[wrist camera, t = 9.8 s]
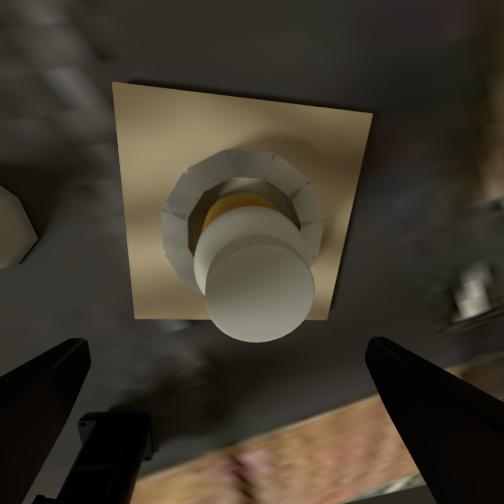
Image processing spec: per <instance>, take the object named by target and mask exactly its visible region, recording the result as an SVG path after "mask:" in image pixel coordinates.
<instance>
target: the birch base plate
mask: <svg viewBox="0 0 504 504" xmlns="http://www.w3.org/2000/svg"><path fill="white" fill-rule="evenodd" d="M112 88H113V98H114V108H115V119H116V129H117V139H118V150H119V160H120V170H121V181H122V191H123V201H124V212H125V222H126V232H127V243H128V253H129V263H130V274H131V284H132V294H133V305H134V315H135V319H211V318H210V316H209V314H208V311H207V308H206V304H205V296H203V295H201V294H199V293H197V292H195V291H193V290H191V289H189V288H188V285H189V283H188V284H186V285H184V283H183V282H182V280H181V279H180V277H179V276H178V274H177V273H176V271H175V270H174V268H173V267H172V265H171V264H170V262H169V261H168V259H167V258H166V256H165V253H166V252H167V251H163V239H162V216H161V212H162V211H164V210H165V209H163V206H164V204H165V202H166V201H167V199H168V197H169V196H170V194H171V192H172V190H173V189H174V187H175V185H176V183H177V182H178V180H179V178H180V177H181V175H182V173H183V172H185V171H188V170H187V168H189V167H191V166H193V165H195V164H197V163H199V162H201V161H203V160H205V159H207V158H208V157H210V156H212V155H214V154H216V153H218V152H220V151H222V150H224V149H225V150H226V152H227V154H228V156H229V149H230V148H235V149H245V150H256V151H266V152H273V154H278V155H279V156H280V157H282V158H283V159H284V160H286V161H287V162H288V163H289V164H291V165H292V166H293V167H294V168H296V169H297V170H298V171H300V172H301V173H302V174H303V175H305V176H306V177H307V178H309V179H308V182H312V185H313V188H314V191H315V194H316V196H317V199H318V202H319V205H320V207H321V210H322V213H323V216H324V218H323V219H321V220H322V221H324V228H323V233H322V238H321V244H320V249H319V254H318V257H313V258H314V259H315V260H316V262H315V263H314V264H313V265H312V267H311V268H310V270H311V272H312V275H313V278H314V283H315V297H314V302H313V305H312V308H311V310H310V312H309V314H308V315H307V317H306V318H305V319H304V320H327V318H328V313H329V309H330V304H331V300H332V295H333V291H334V286H335V282H336V277H337V273H338V268H339V264H340V259H341V255H342V250H343V246H344V241H345V237H346V232H347V228H348V223H349V219H350V214H351V210H352V205H353V201H354V197H355V192H356V188H357V183H358V179H359V174H360V170H361V165H362V161H363V156H364V152H365V147H366V143H367V138H368V134H369V129H370V125H371V120H372V116H373V114H372V113H364V112H355V111H347V110H339V109H331V108H323V107H314V106H306V105H298V104H290V103H282V102H273V101H265V100H257V99H249V98H241V97H232V96H224V95H216V94H208V93H200V92H191V91H183V90H175V89H167V88H159V87H150V86H142V85H134V84H126V83H118V82H112ZM273 154H272V155H273ZM235 191H251V192H255V193H257V194H259V195H261V196H263V197H265V198H266V199H267V200H268V201H270V202H271V203H272V204H273V205H274V206H275V207H276V208H277V209H278V210H279V211H280V212H281V213H283V214H284V215H285V216H286V217H287V218H288V219H289V220H290V221H291V215H290V212H289V210H288V208H287V205H286V203H285V200H284V198H283V196H282V193H281V192H280V191H278V190H277V189H276V188H274V187H273V186H272V185H270V184H269V183H267V182H266V181H265V180H263V179H254V178H242V177H232V178H230V179H228V180H226V181H224V182H222V183H220V184H218V185H216V186H214V187H212V188H210V189H208V190H206V191H204V193H203V195H202V196H201V198H200V199H199V201H198V203H197V204H196V206H195V208H194V209H193V237H194V239H195V241H196V242H197V244H198V241H199V238H200V235H201V231H202V228H203V225H204V221H205V218H206V216H207V213H208V211H209V209H210V208H211V206H212V205H213V204H214V203H215V202H216V201H217V200H218V199H219V198H221V197H222V196H224V195H226V194H228V193H231V192H235Z"/></svg>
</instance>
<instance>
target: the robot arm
mask: <svg viewBox="0 0 504 504" xmlns="http://www.w3.org/2000/svg"><path fill="white" fill-rule="evenodd" d="M365 362H366V365H367V367H368V370H369V372H370V374H371V376H372V379H373V381H374V383H375V386H376V388H377V390H378V393H379V395H380V397H381V399H382V402H383V404H384V406H385V408H386V410H387V412H388V414H389V416H390V418H391V420H392V422H393V423H394V425H395V427H396V429H397V431H398V433H399V435H400V436H401V438H402V440H403V442H404V444H405V446H406V447H407V449H408V451H409V453H410V455H411V457H412V458H413V460H414V462H415V464H416V466H417V468H418V470H419V471H420V473H421V475H422V477H423V479H424V481H425V482H426V484H427V486H428V488H429V490H430V492H431V494H432V495H433V497H434V499H435V501H436V503H437V504H504V402H502V401H500V400H498V399H497V398H495V397H493V396H491V395H489V394H487V393H486V392H484V391H482V390H480V389H478V388H477V387H475V386H473V385H471V384H469V383H467V382H466V381H464V380H462V379H460V378H458V377H456V376H455V375H453V374H451V373H449V372H447V371H445V370H444V369H442V368H440V367H438V366H436V365H435V364H433V363H431V362H429V361H427V360H425V359H424V358H422V357H420V356H418V355H416V354H414V353H413V352H411V351H409V350H407V349H405V348H403V347H402V346H400V345H398V344H396V343H394V342H392V341H391V340H389V339H387V338H385V337H372V338H371V339H370V340H369V344H368V347H367V350H366V354H365ZM90 366H91V357H90V351H89V346H88V341H87V340H86V339H85V338H70V339H68V340H66V341H64V342H62V343H61V344H59V345H57V346H55V347H53V348H52V349H50V350H48V351H46V352H44V353H42V354H41V355H39V356H37V357H35V358H33V359H32V360H30V361H28V362H26V363H24V364H23V365H21V366H19V367H17V368H15V369H14V370H12V371H10V372H8V373H6V374H4V375H3V376H1V377H0V504H22V503H23V501H24V499H25V497H26V495H27V493H28V492H29V490H30V488H31V486H32V484H33V482H34V481H35V479H36V477H37V475H38V473H39V472H40V470H41V468H42V466H43V464H44V462H45V461H46V459H47V457H48V455H49V453H50V452H51V450H52V448H53V446H54V444H55V442H56V441H57V439H58V437H59V435H60V433H61V431H62V429H63V428H64V426H65V424H66V421H67V419H68V417H69V415H70V413H71V410H72V408H73V406H74V404H75V401H76V399H77V397H78V394H79V392H80V390H81V387H82V385H83V383H84V380H85V378H86V376H87V374H88V371H89V369H90ZM77 425H78V429H79V434H80V438H81V442H82V448H81V450H80V452H79V454H78V456H77V458H76V460H75V462H74V464H73V466H72V468H71V470H70V472H69V474H68V476H67V478H66V480H65V482H64V484H63V486H62V488H61V490H60V492H59V494H58V496H57V498H56V499H52V498H45V496H44V495H37V496H36V498H35V500H34V501H33V503H32V504H130V502H131V499H132V495H133V491H134V488H135V484H136V480H137V477H138V473H139V470H140V466H141V462H146V461H151V460H152V457H153V444H152V432H151V420H150V416H149V415H146V414H141V415H117V416H93V417H82V418H81V419H80V420H79V422H78V424H77Z"/></svg>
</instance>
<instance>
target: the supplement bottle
mask: <svg viewBox="0 0 504 504" xmlns="http://www.w3.org/2000/svg"><path fill="white" fill-rule="evenodd" d="M308 266H309V255H308V249H307V245H306V242H305V240H304V238H303V236H302V234H301V233H300V231H299V230H298V229H297V227H296V226H295V225H294V224H293V223H292V222H291V221H290V220H289V219H288V218H287V217H286V216H285V215H284V214H283V213H281V212H280V211H279V210H278V209H277V208H276V207H275V206H274V205H273V204H272V203H271V202H270V201H268V200H267V199H266V198H265V197H263V196H261V195H259V194H257V193H255V192H251V191H235V192H231V193H228V194H226V195H224V196H222V197H221V198H219V199H218V200H217V201H216V202H215V203H214V204H213V205H212V206H211V208H210V209H209V211H208V213H207V216H206V218H205V221H204V225H203V228H202V231H201V235H200V238H199V241H198V244H197V247H196V251H195V256H194V272H195V277H196V281H197V284H198V286H199V288H200V290H201V291H202V293H203V294H204V296H205V304H206V308H207V311H208V314H209V316H210V318H211V319H212V321H213V322H214V324H215V325H216V326H217V327H218V328H219V329H220V330H221V331H223V332H224V333H225V334H227V335H229V336H231V337H233V338H235V339H238V340H242V341H247V342H266V341H271V340H275V339H278V338H280V337H283V336H285V335H287V334H288V333H290V332H291V331H293V330H294V329H295V328H297V327H298V326H299V325H300V324H301V323H302V322H303V321H304V319H305V318H306V317H307V315H308V314H309V312H310V310H311V308H312V305H313V302H314V297H315V283H314V278H313V275H312V272H311V270H310V269H309V267H308Z"/></svg>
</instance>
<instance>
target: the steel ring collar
mask: <svg viewBox="0 0 504 504" xmlns="http://www.w3.org/2000/svg"><path fill="white" fill-rule="evenodd" d="M272 154H273V152H266V151H256V150H245V149H235V148H230V149H229V156H228V154H227V152H226V150H225V149H224V150H222V151H220V152H218V153H216V154H214V155H212V156H210V157H208V158H207V159H205V160H203V161H201V162H199V163H197V164H195V165H193V166H191V167H189V168H187V170H188V171H185V172H183V173H182V175H181V177H180V178H179V180H178V182H177V183H176V185H175V187H174V189H173V190H172V192H171V194H170V196H169V197H168V199H167V201H166V202H165V204H164V206H163V209H165V210H164V211H162V212H161V216H162V239H163V251H167V252H166V253H165V256H166V258H167V259H168V261H169V262H170V264H171V265H172V267H173V268H174V270H175V271H176V273H177V274H178V276H179V277H180V279H181V280H182V282H183V283H184V285H186V284H188V283H189V285H188V288H189V289H191V290H193V291H195V292H197V293H199V294H201V295H203V296H204V294H203V293H202V291H201V290H200V288H199V286H198V284H197V281H196V277H195V272H194V256H195V251H196V247H197V242H196V241H195V239H194V237H193V209H194V208H195V206H196V204H197V203H198V201H199V199H200V198H201V196H202V195H203V193H204V191H206V190H208V189H210V188H212V187H214V186H216V185H218V184H220V183H222V182H224V181H226V180H228V179H230V178H232V177H242V178H254V179H263V180H265V181H266V182H267V183H269V184H270V185H272V186H273V187H274V188H276V189H277V190H278V191H280V192H281V193H282V196H283V198H284V200H285V203H286V205H287V208H288V210H289V212H290V215H291V222H292V223H293V224H294V225H295V226H296V227H297V229H298V230H299V231H300V233H301V234H302V236H303V238H304V240H305V242H306V245H307V249H308V255H309V266H308V267H309V269H310V268H311V267H312V265H313V264H314V263H315V262H316V260H315V259H314V258H313V257H318V254H319V249H320V244H321V238H322V233H323V228H324V221H322V220H321V219H323V218H324V216H323V213H322V210H321V207H320V205H319V202H318V199H317V196H316V194H315V191H314V188H313V185H312V182H308V179H309V178H307V177H306V176H305V175H303V174H302V173H301V172H300V171H298V170H297V169H296V168H294V167H293V166H292V165H291V164H289V163H288V162H287V161H286V160H284V159H283V158H282V157H280V156H279V155H278V154H273V155H272Z"/></svg>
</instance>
